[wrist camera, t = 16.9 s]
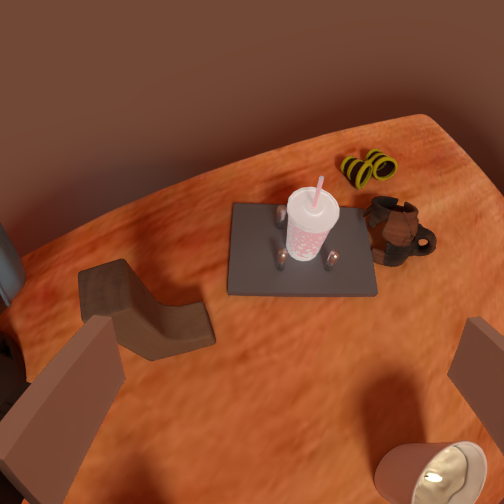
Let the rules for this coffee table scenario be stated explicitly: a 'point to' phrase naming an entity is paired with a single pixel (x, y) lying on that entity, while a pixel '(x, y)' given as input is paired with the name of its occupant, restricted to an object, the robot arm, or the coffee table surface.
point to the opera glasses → (369, 167)
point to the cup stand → (295, 271)
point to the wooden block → (142, 313)
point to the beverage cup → (309, 220)
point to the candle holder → (432, 473)
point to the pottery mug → (398, 231)
